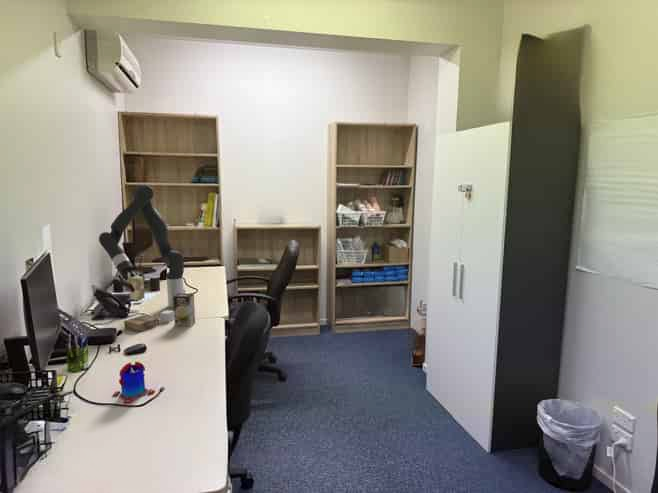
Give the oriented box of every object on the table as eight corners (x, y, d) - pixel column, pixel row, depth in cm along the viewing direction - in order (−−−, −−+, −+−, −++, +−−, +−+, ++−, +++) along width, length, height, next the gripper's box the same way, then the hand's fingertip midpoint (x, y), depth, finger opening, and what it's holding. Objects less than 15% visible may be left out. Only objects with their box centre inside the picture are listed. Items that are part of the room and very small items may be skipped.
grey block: (166, 319, 242) (165, 310, 241) (174, 319, 241) (173, 310, 240) (160, 322, 237) (160, 313, 237) (169, 322, 236) (168, 313, 235)
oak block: (138, 296, 231) (137, 275, 229) (144, 297, 228) (142, 277, 226) (129, 298, 226) (128, 277, 225) (135, 300, 224) (134, 279, 222)
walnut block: (143, 322, 237) (143, 315, 236) (156, 326, 231) (156, 318, 230) (124, 328, 228) (124, 320, 227) (137, 332, 222) (137, 324, 221)
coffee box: (174, 326, 230) (172, 296, 228) (179, 322, 237) (177, 293, 234) (191, 326, 229) (189, 296, 227) (196, 322, 236) (194, 293, 233)
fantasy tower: (141, 383, 167) (138, 353, 166) (157, 392, 160) (155, 361, 158) (109, 395, 158) (106, 363, 157) (125, 405, 151) (122, 372, 149)
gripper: (112, 262, 222) (128, 288, 218) (138, 257, 234) (154, 282, 229) (107, 271, 226) (123, 297, 221) (133, 266, 238) (148, 291, 233)
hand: (138, 290), depth 225 cm, fingers closed on oak block, 5 cm apart
